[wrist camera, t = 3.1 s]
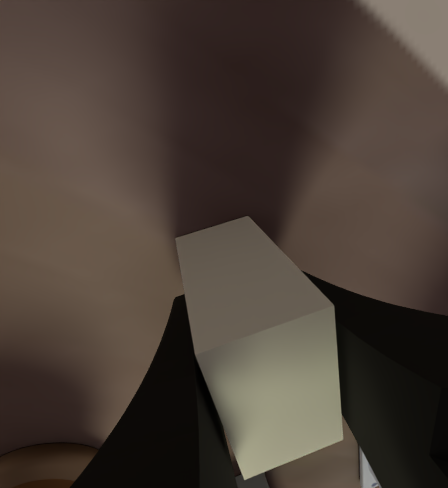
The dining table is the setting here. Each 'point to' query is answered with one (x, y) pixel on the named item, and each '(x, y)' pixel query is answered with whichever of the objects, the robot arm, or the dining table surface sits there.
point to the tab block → (261, 344)
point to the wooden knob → (44, 465)
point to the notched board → (252, 481)
